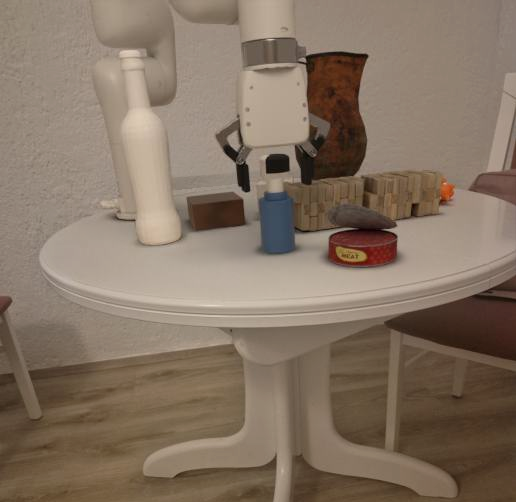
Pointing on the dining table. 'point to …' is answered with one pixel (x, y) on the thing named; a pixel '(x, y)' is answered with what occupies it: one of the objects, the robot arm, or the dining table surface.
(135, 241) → the dining table surface
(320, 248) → the dining table surface
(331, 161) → the pitcher
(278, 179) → the blue bottle
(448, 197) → the orange toy bird
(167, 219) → the bottle
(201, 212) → the walnut block
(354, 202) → the block tower
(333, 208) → the canned food
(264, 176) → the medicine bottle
